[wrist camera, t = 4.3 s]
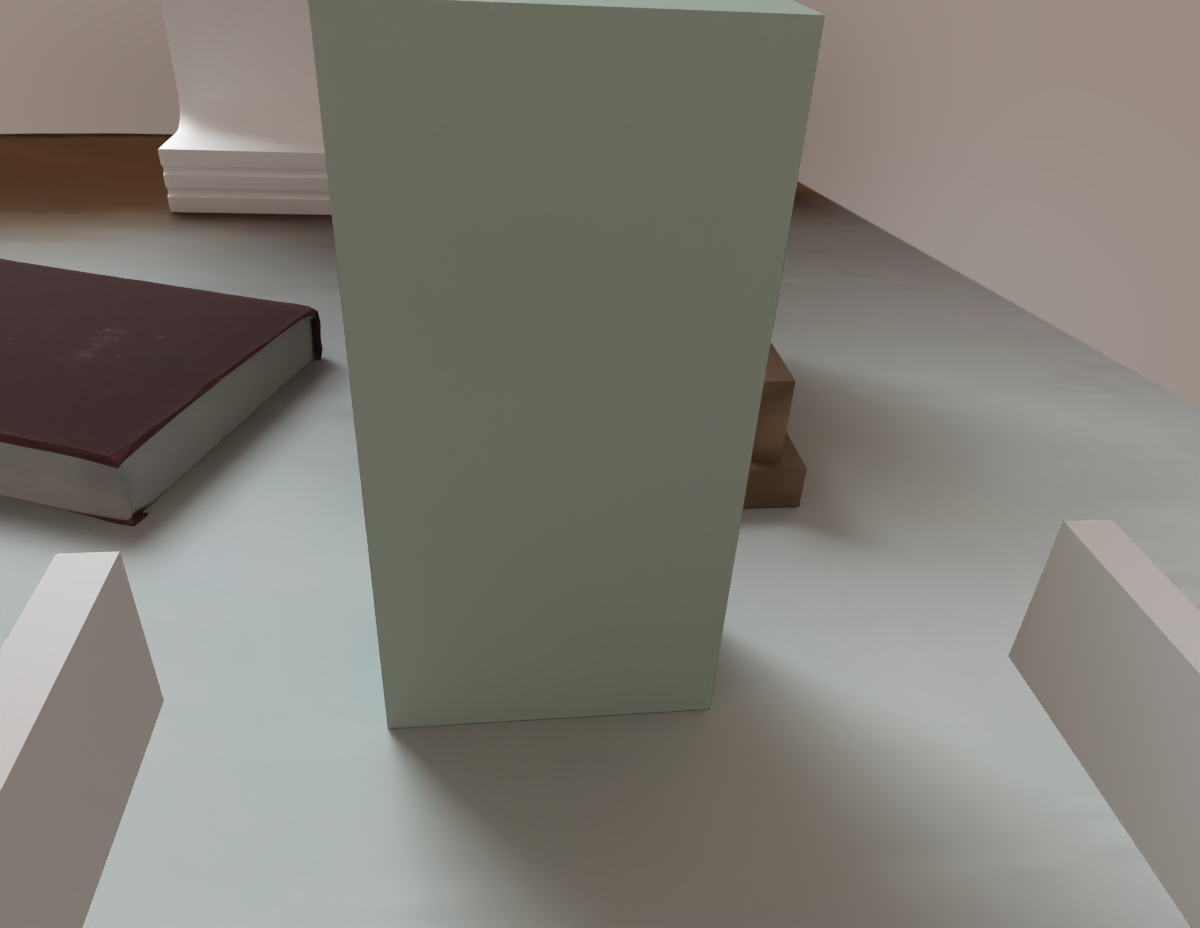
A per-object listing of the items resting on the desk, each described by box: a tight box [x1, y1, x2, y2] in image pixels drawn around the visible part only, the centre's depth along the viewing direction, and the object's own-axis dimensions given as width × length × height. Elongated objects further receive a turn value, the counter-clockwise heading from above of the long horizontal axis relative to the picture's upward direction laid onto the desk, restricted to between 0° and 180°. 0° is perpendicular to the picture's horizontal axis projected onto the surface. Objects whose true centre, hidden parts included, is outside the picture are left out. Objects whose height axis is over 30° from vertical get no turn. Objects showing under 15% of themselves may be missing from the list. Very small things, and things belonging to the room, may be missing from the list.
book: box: [0, 259, 322, 526], centre depth 35 cm, size 12×19×3 cm, turn 76°
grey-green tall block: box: [308, 0, 825, 729], centre depth 20 cm, size 8×4×16 cm, turn 97°
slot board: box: [743, 343, 807, 508], centre depth 31 cm, size 14×13×18 cm
